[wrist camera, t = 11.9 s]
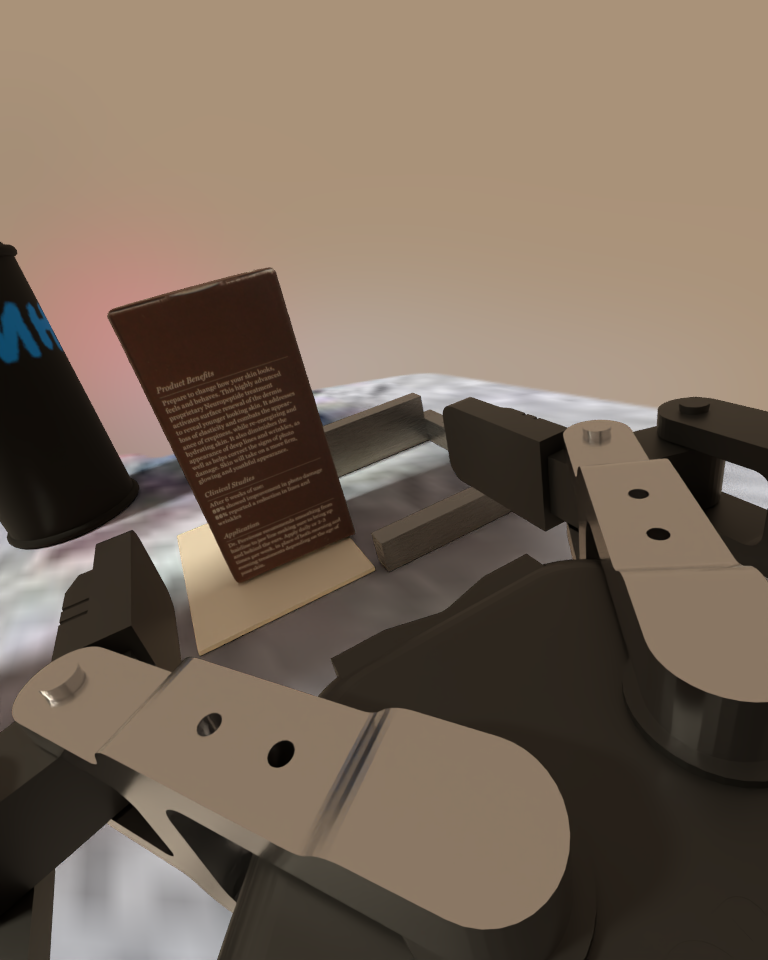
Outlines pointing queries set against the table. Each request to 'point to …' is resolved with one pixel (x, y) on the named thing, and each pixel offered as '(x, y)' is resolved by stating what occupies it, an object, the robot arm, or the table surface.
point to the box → (239, 416)
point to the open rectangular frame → (390, 434)
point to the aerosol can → (48, 430)
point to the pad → (257, 586)
